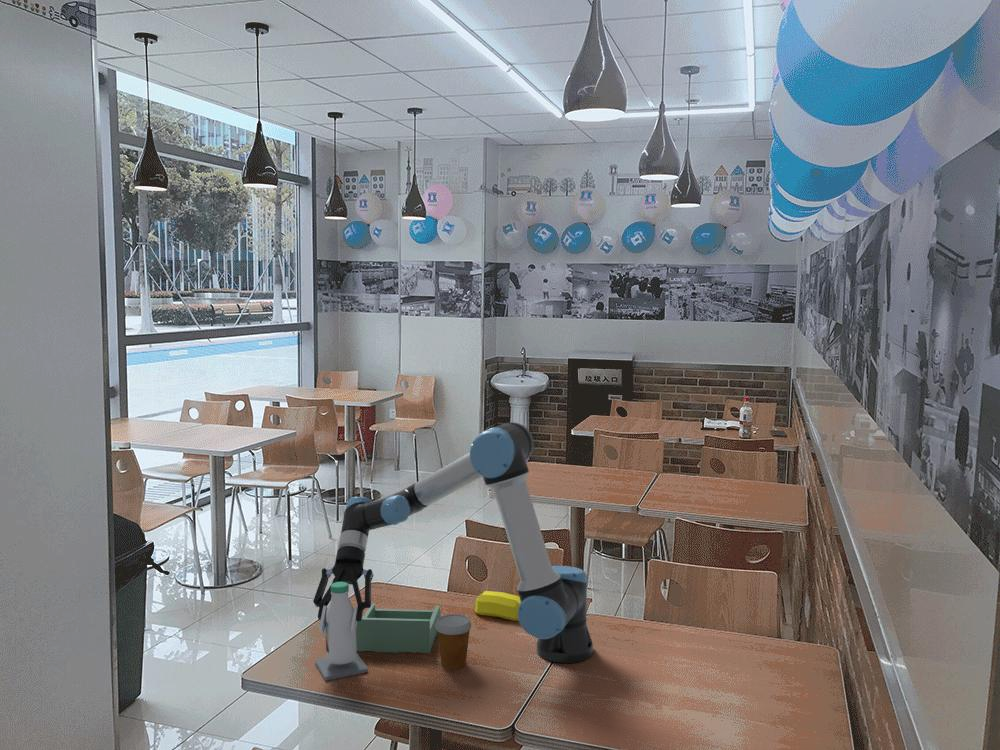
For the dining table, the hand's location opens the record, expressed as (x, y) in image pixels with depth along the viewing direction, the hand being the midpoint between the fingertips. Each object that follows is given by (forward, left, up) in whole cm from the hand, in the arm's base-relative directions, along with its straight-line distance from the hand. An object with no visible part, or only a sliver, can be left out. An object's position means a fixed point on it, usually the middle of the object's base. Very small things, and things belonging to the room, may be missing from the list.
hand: (337, 632), depth 211 cm
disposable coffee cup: (-8, -29, -11) cm, 32 cm away
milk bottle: (+3, -2, -9) cm, 9 cm away
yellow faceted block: (+17, -54, -11) cm, 58 cm away
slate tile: (+3, -2, -11) cm, 12 cm away
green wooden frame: (+15, -22, -11) cm, 29 cm away
